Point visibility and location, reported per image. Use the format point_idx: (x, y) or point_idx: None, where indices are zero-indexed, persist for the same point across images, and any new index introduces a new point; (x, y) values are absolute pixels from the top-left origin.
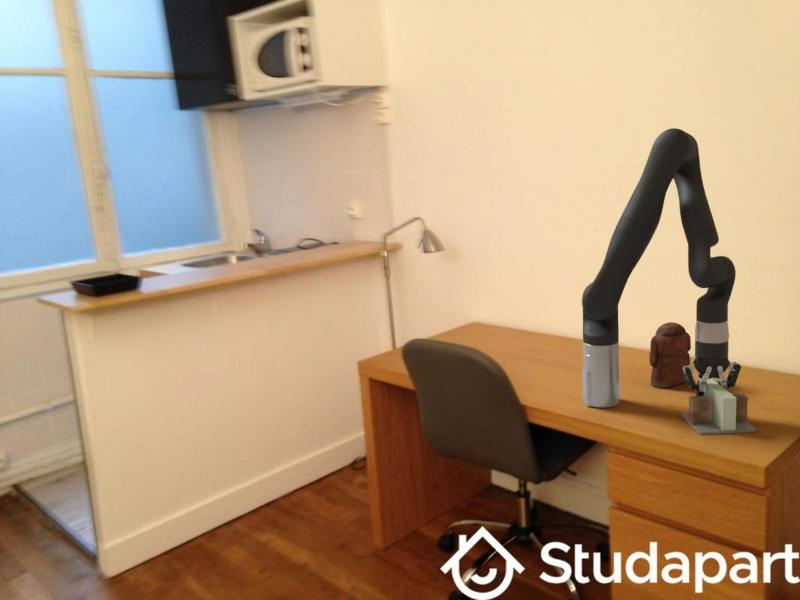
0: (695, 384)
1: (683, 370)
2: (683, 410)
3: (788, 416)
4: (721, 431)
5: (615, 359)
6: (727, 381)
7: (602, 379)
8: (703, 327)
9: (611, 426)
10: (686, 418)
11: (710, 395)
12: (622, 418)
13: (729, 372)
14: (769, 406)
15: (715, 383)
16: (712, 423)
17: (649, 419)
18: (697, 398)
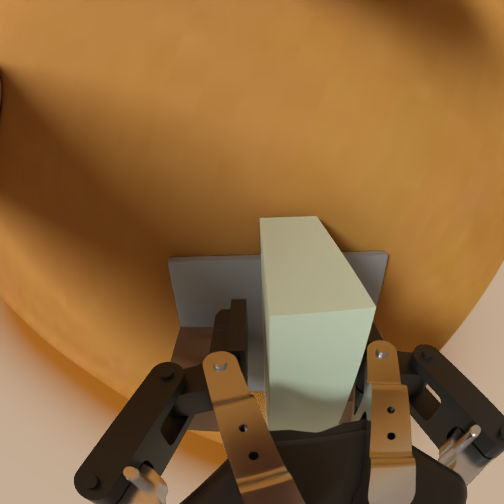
0: (195, 406)
1: (92, 467)
2: (192, 189)
3: (481, 285)
4: (258, 391)
5: None
6: (411, 381)
7: None
8: None
9: (5, 299)
10: (176, 305)
11: (267, 399)
12: (10, 252)
13: (455, 406)
14: (495, 205)
15: (341, 384)
16: (255, 351)
17: (66, 270)
18: (192, 424)
